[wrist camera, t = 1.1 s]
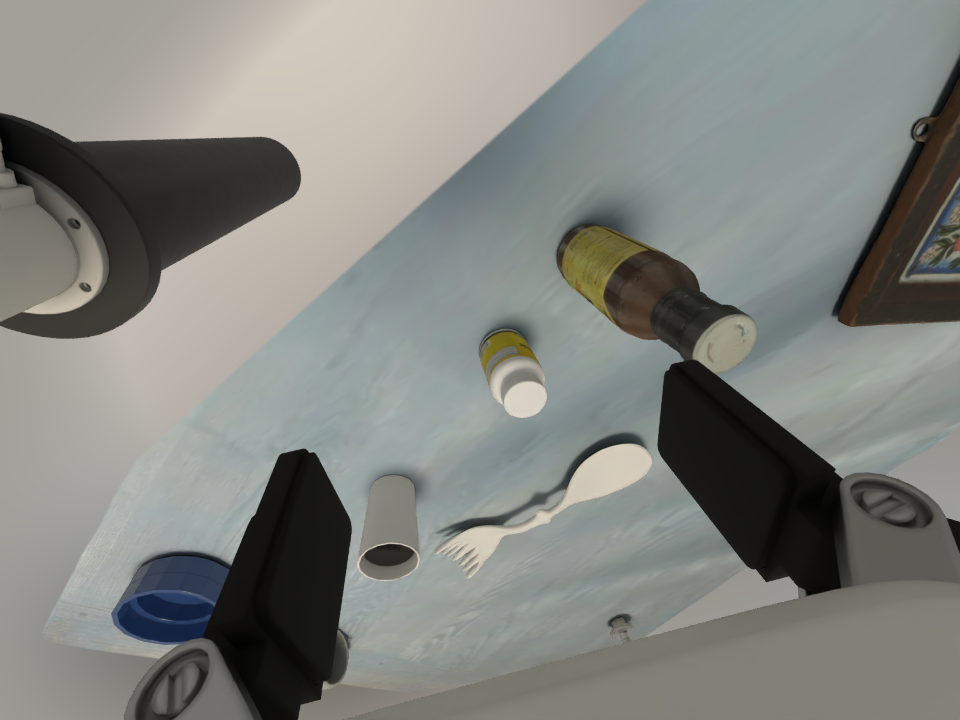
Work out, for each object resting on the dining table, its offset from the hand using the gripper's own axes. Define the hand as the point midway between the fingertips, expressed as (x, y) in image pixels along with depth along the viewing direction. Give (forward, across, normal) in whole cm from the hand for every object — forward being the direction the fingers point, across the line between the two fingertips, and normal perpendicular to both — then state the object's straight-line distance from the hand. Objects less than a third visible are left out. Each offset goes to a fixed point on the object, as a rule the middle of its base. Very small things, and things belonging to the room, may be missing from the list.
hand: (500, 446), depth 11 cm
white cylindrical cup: (+30, +13, +32) cm, 45 cm away
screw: (+30, -19, +81) cm, 88 cm away
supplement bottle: (+30, -4, +14) cm, 33 cm away
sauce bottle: (+30, -14, +6) cm, 33 cm away
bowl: (+30, +43, +39) cm, 65 cm away
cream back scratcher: (+30, -7, +40) cm, 50 cm away
